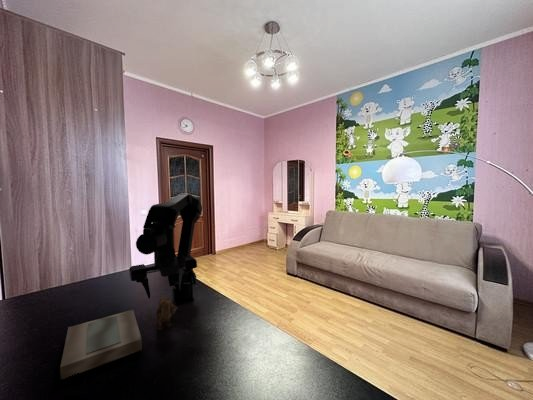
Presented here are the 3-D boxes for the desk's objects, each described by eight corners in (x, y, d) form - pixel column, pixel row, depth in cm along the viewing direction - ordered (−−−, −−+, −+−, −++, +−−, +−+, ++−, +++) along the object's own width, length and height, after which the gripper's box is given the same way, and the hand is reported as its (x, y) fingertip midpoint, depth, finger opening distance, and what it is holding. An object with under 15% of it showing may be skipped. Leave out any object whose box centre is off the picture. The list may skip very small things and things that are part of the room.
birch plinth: (133, 318, 75) (133, 308, 75) (141, 349, 60) (141, 338, 60) (68, 337, 65) (68, 326, 65) (60, 380, 51) (60, 366, 51)
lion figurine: (178, 330, 68) (178, 301, 68) (159, 337, 65) (158, 306, 65) (168, 309, 81) (168, 284, 80) (151, 313, 78) (151, 287, 77)
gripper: (132, 256, 59) (134, 315, 60) (202, 245, 70) (203, 295, 71) (128, 247, 68) (129, 298, 69) (190, 239, 79) (191, 283, 80)
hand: (165, 293), depth 72 cm, fingers open, 9 cm apart
